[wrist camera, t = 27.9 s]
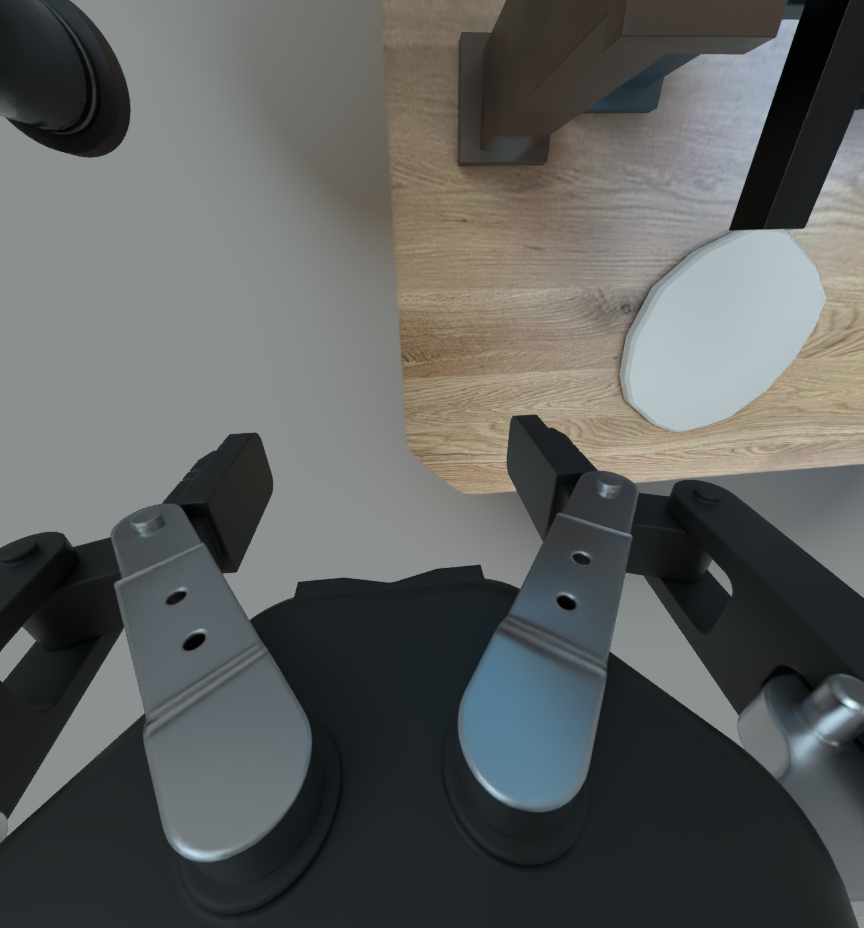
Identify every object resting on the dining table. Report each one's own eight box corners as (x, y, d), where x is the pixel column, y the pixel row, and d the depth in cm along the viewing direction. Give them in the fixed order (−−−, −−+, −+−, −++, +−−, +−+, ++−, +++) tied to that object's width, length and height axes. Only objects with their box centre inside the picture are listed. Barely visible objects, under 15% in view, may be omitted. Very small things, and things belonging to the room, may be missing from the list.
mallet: (781, 229, 25) (862, 226, 20) (682, 232, 24) (744, 229, 20) (983, -278, 15) (1208, -477, 11) (829, -289, 15) (1004, -503, 11)
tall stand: (541, 171, 39) (814, 37, 14) (457, 172, 38) (581, 35, 13) (555, 33, 34) (1035, -589, 9) (458, 31, 33) (667, -641, 8)
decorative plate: (770, 175, 37) (871, 315, 46) (737, 181, 41) (837, 310, 50) (594, 379, 47) (704, 462, 56) (580, 369, 51) (686, 449, 59)
